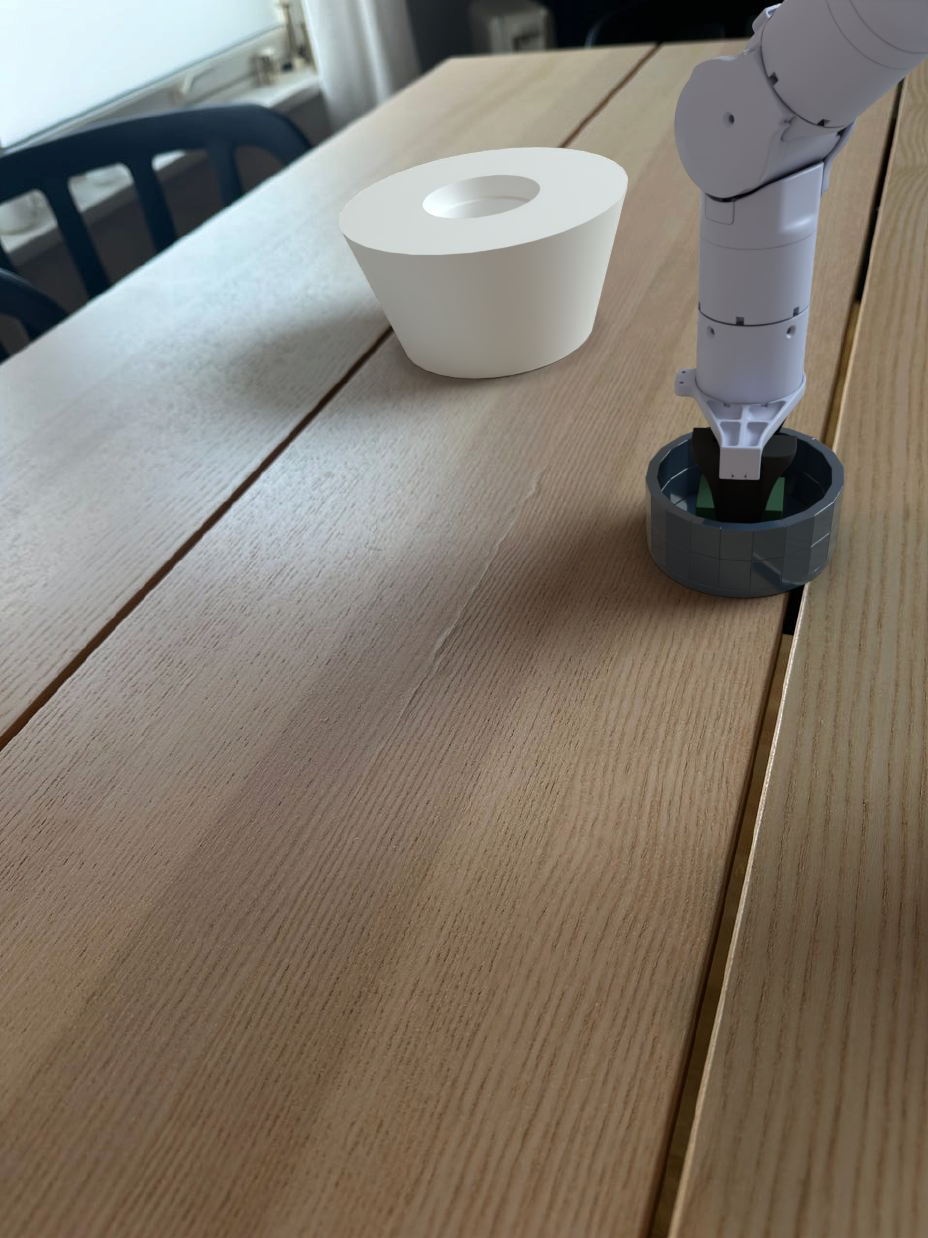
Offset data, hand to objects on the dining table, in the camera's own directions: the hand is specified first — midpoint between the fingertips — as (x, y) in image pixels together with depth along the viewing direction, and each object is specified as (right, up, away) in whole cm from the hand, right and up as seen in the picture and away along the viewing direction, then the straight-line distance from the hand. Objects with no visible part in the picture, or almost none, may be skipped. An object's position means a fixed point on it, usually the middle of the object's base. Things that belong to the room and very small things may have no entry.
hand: (740, 512), depth 61 cm
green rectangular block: (0, -1, +1) cm, 2 cm away
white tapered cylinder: (-14, +19, +28) cm, 37 cm away
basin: (0, -2, +1) cm, 2 cm away
